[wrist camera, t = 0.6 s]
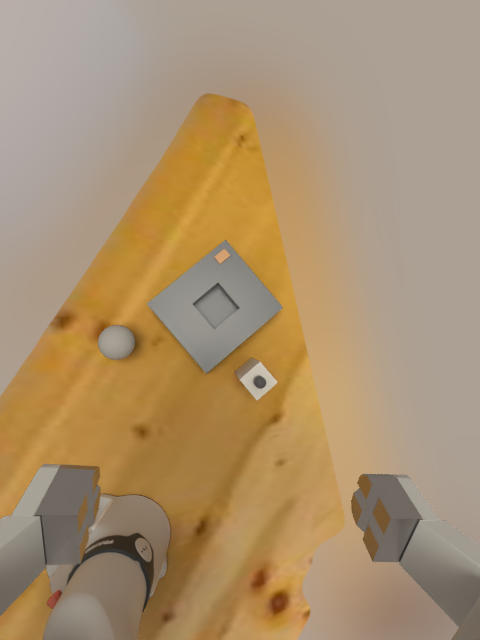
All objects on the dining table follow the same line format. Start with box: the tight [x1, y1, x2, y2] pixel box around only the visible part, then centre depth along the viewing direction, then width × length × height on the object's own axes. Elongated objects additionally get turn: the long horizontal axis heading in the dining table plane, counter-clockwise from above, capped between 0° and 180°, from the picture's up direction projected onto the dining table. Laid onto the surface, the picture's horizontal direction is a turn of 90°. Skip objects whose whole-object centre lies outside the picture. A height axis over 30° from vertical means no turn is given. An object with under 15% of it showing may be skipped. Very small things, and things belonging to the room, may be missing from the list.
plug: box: [235, 358, 278, 400], centre depth 58 cm, size 4×4×14 cm
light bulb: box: [98, 325, 135, 360], centre depth 59 cm, size 6×6×10 cm
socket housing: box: [147, 240, 283, 374], centre depth 62 cm, size 18×16×7 cm
